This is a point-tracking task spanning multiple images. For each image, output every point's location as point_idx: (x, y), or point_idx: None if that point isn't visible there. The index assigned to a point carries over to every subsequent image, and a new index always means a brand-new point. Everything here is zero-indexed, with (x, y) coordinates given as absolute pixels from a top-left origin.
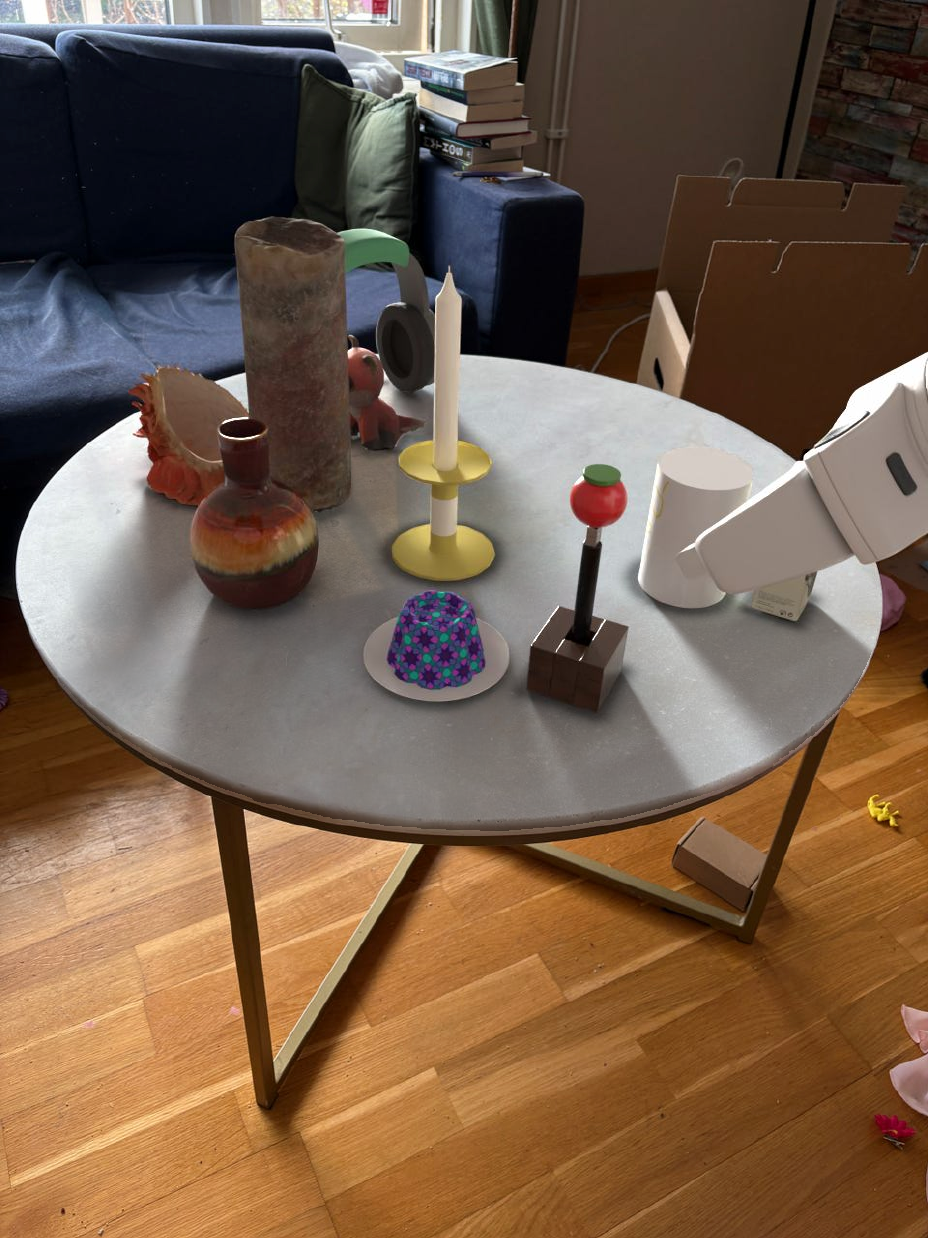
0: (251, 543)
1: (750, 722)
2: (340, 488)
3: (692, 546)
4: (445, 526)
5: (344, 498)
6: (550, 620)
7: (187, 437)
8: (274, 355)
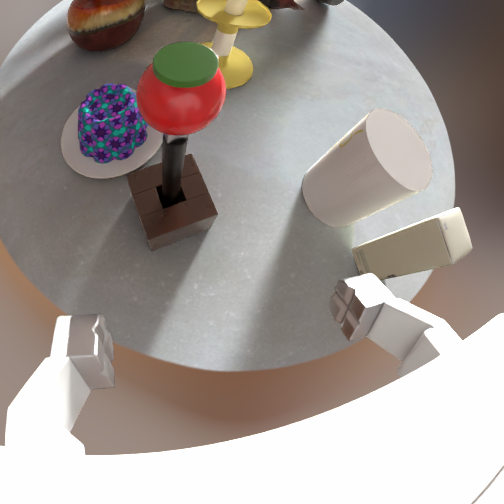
0: (75, 14)
1: (243, 339)
2: None
3: (58, 345)
4: (216, 48)
5: None
6: None
7: None
8: None
